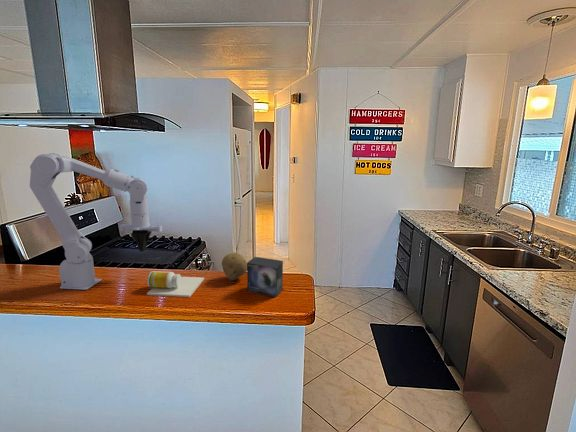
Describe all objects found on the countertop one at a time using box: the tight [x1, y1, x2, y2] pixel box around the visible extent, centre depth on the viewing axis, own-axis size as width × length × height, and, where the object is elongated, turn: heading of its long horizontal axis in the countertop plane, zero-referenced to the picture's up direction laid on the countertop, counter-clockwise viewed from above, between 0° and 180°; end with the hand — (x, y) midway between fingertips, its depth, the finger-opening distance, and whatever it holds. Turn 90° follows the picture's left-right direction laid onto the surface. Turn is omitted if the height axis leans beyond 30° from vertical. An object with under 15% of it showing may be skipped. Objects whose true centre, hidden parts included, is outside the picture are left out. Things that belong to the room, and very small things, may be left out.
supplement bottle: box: [147, 270, 182, 289], centre depth 106 cm, size 5×5×10 cm
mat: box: [146, 276, 205, 298], centre depth 109 cm, size 14×14×1 cm
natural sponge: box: [221, 252, 248, 281], centre depth 114 cm, size 9×9×10 cm
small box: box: [246, 256, 284, 298], centre depth 106 cm, size 11×6×10 cm, turn 70°
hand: (142, 250), depth 115 cm, fingers closed
